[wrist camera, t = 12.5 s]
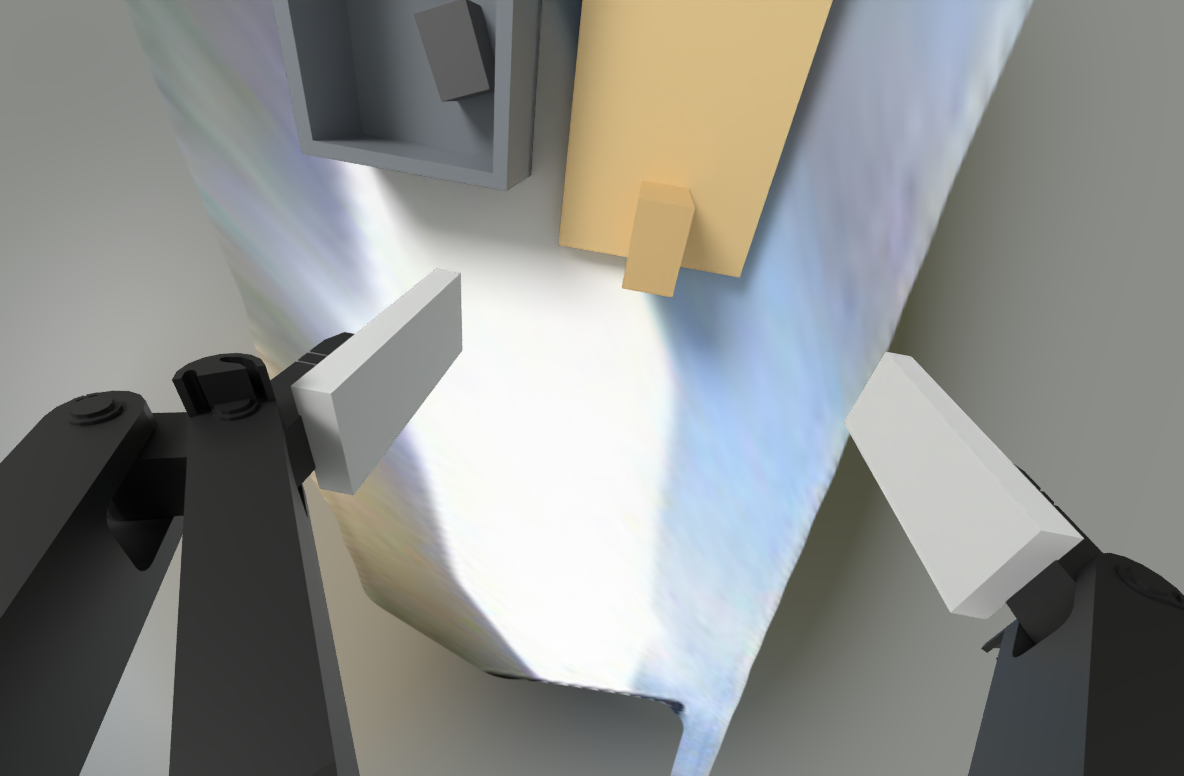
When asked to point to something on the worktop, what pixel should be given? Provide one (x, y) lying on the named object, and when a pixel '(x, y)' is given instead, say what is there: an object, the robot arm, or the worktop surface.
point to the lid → (681, 128)
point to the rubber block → (458, 49)
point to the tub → (409, 90)
